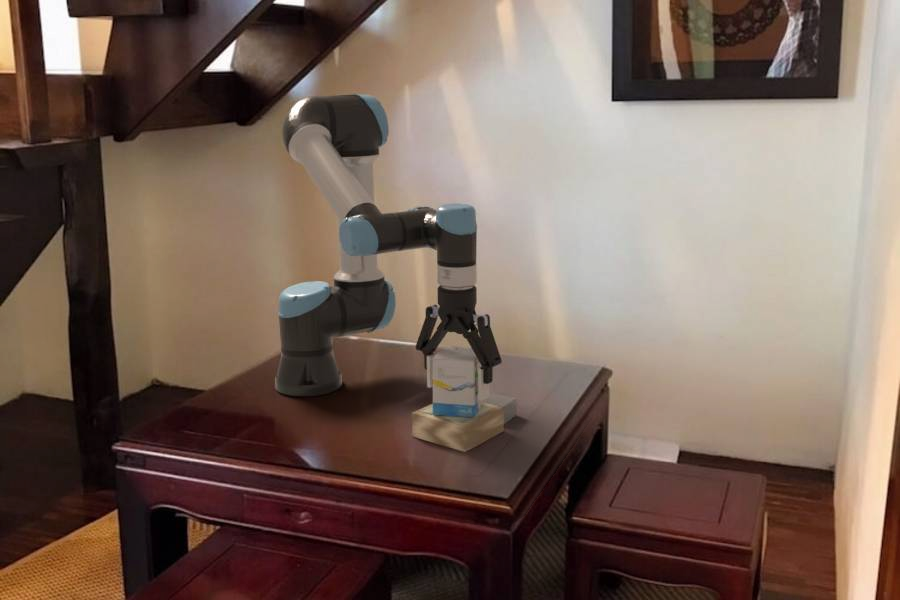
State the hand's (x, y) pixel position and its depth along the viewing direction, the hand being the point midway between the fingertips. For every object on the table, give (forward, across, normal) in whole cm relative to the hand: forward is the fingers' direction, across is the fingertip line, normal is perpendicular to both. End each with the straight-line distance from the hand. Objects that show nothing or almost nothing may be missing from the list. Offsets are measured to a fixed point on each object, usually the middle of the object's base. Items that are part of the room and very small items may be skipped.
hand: (457, 392), depth 196 cm
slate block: (+9, +1, +12) cm, 15 cm away
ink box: (+4, 0, 0) cm, 4 cm away
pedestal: (+9, 0, 0) cm, 9 cm away
